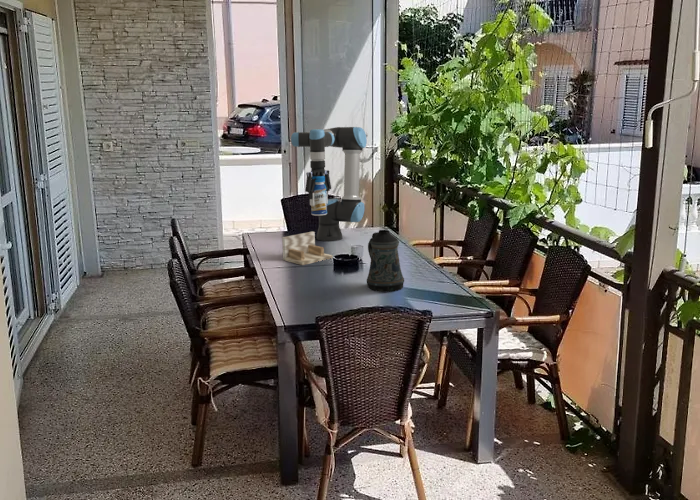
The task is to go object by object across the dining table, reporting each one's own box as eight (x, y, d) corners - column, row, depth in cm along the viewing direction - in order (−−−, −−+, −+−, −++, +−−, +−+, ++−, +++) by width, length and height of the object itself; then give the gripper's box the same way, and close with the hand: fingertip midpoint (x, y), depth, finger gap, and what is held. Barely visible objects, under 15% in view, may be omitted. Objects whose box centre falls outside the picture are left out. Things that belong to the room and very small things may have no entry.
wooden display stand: (312, 253, 367) (312, 231, 364) (332, 258, 355) (332, 235, 353) (283, 260, 354) (282, 237, 351) (302, 265, 342) (301, 241, 340)
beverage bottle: (330, 213, 356) (329, 175, 351) (323, 216, 348) (322, 177, 344) (315, 212, 359) (314, 174, 355) (308, 215, 352) (307, 176, 347)
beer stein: (392, 294, 290) (392, 236, 285) (354, 288, 300) (352, 232, 295) (410, 284, 304) (410, 229, 298) (372, 279, 314) (372, 225, 308)
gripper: (328, 158, 357) (329, 201, 362) (296, 161, 343) (298, 206, 348) (337, 159, 352) (338, 202, 357) (306, 162, 338) (307, 207, 343)
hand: (318, 204), depth 352 cm, fingers closed on beverage bottle, 8 cm apart
